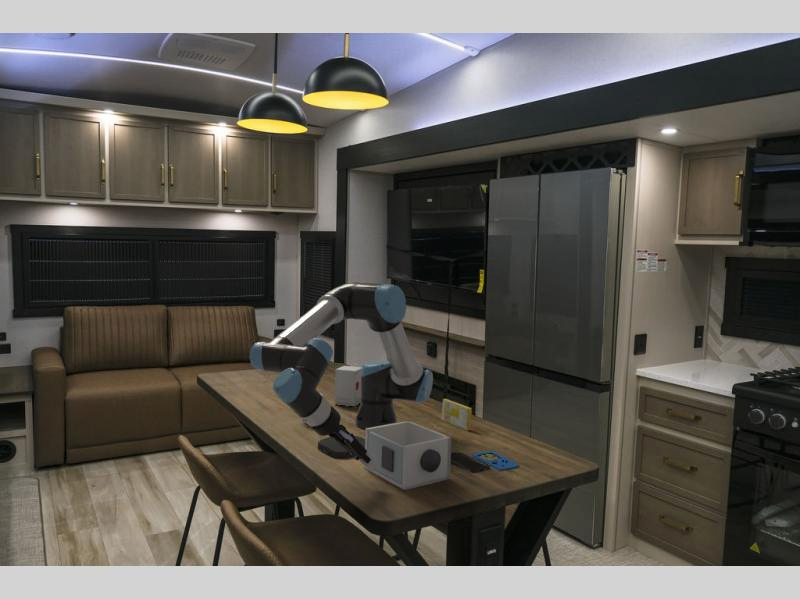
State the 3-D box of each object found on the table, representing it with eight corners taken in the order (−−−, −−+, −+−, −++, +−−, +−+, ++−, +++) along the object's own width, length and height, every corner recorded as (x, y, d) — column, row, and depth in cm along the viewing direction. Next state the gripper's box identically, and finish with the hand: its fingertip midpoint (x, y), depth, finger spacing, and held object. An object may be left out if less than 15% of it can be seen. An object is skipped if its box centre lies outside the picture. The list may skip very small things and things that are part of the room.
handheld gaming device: (500, 468, 188) (471, 453, 201) (499, 472, 188) (470, 456, 201) (521, 464, 192) (492, 449, 205) (521, 468, 192) (492, 453, 205)
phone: (458, 451, 202) (491, 465, 190) (458, 455, 202) (491, 469, 190) (439, 456, 197) (471, 470, 185) (439, 459, 197) (471, 474, 185)
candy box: (471, 430, 228) (472, 408, 227) (466, 431, 227) (467, 408, 226) (445, 419, 242) (446, 398, 241) (441, 420, 241) (441, 398, 240)
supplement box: (354, 407, 255) (355, 371, 254) (334, 405, 258) (334, 369, 257) (362, 402, 264) (363, 367, 262) (343, 400, 267) (343, 365, 265)
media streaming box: (350, 440, 214) (350, 431, 214) (376, 452, 203) (376, 443, 202) (313, 448, 205) (313, 439, 205) (337, 461, 193) (338, 451, 193)
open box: (408, 492, 169) (409, 448, 168) (364, 468, 187) (365, 428, 186) (453, 480, 179) (455, 439, 178) (407, 458, 196) (408, 420, 195)
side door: (399, 483, 172) (400, 447, 171) (366, 465, 185) (366, 432, 184) (403, 482, 173) (404, 446, 172) (370, 464, 186) (371, 431, 185)
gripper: (299, 421, 166) (352, 470, 178) (324, 434, 156) (378, 485, 167) (317, 399, 169) (368, 449, 180) (342, 410, 159) (395, 462, 170)
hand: (373, 466), depth 174 cm, fingers closed
